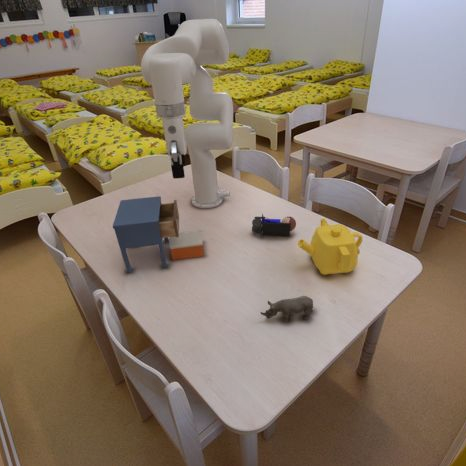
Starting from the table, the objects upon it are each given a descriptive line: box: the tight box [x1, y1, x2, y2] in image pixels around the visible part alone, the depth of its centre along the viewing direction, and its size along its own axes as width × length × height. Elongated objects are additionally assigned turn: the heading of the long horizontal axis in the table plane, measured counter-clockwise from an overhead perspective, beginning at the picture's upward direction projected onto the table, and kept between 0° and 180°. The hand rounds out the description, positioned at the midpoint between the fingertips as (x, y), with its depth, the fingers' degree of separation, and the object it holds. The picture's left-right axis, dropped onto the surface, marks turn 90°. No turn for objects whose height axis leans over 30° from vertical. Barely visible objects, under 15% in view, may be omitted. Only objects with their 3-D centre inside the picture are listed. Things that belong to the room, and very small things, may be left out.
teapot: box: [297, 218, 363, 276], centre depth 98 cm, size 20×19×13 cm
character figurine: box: [251, 213, 297, 238], centre depth 114 cm, size 8×7×15 cm
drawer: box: [158, 199, 180, 239], centre depth 102 cm, size 10×13×6 cm
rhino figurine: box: [260, 295, 314, 323], centre depth 83 cm, size 4×14×6 cm, turn 97°
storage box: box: [168, 229, 205, 261], centre depth 109 cm, size 10×8×5 cm
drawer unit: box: [112, 195, 170, 274], centre depth 104 cm, size 12×15×17 cm
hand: (179, 171), depth 97 cm, fingers open, 9 cm apart
